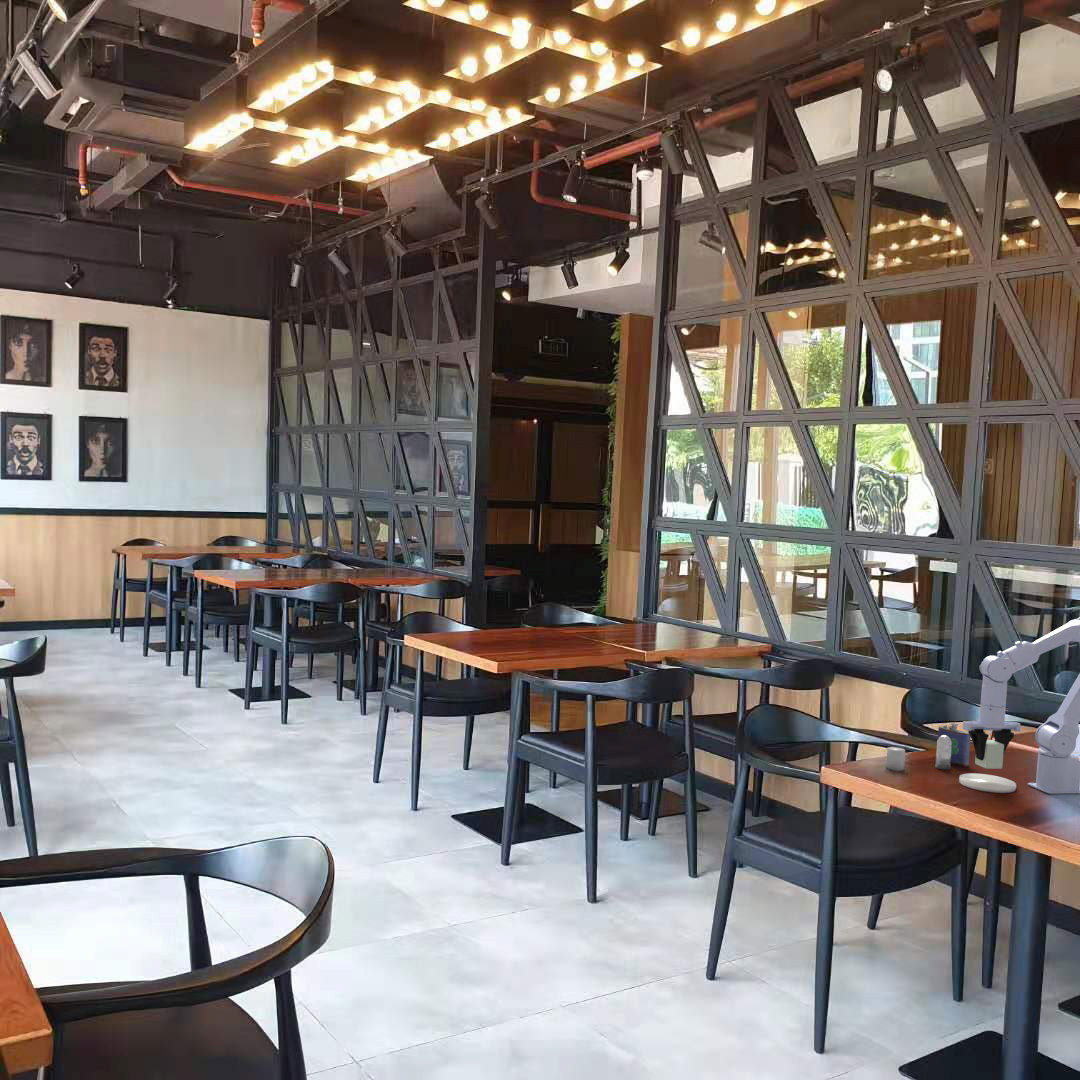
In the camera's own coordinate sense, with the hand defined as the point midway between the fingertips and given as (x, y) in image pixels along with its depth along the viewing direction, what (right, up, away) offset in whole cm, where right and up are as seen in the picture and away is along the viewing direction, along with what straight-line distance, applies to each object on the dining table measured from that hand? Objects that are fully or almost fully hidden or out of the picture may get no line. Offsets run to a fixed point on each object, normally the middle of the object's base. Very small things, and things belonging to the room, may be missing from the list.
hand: (989, 759), depth 267 cm
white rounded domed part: (-19, -5, +13) cm, 24 cm away
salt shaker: (-5, -6, +16) cm, 18 cm away
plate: (0, -7, 0) cm, 6 cm away
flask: (-1, -6, +23) cm, 23 cm away
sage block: (0, -2, 0) cm, 2 cm away
